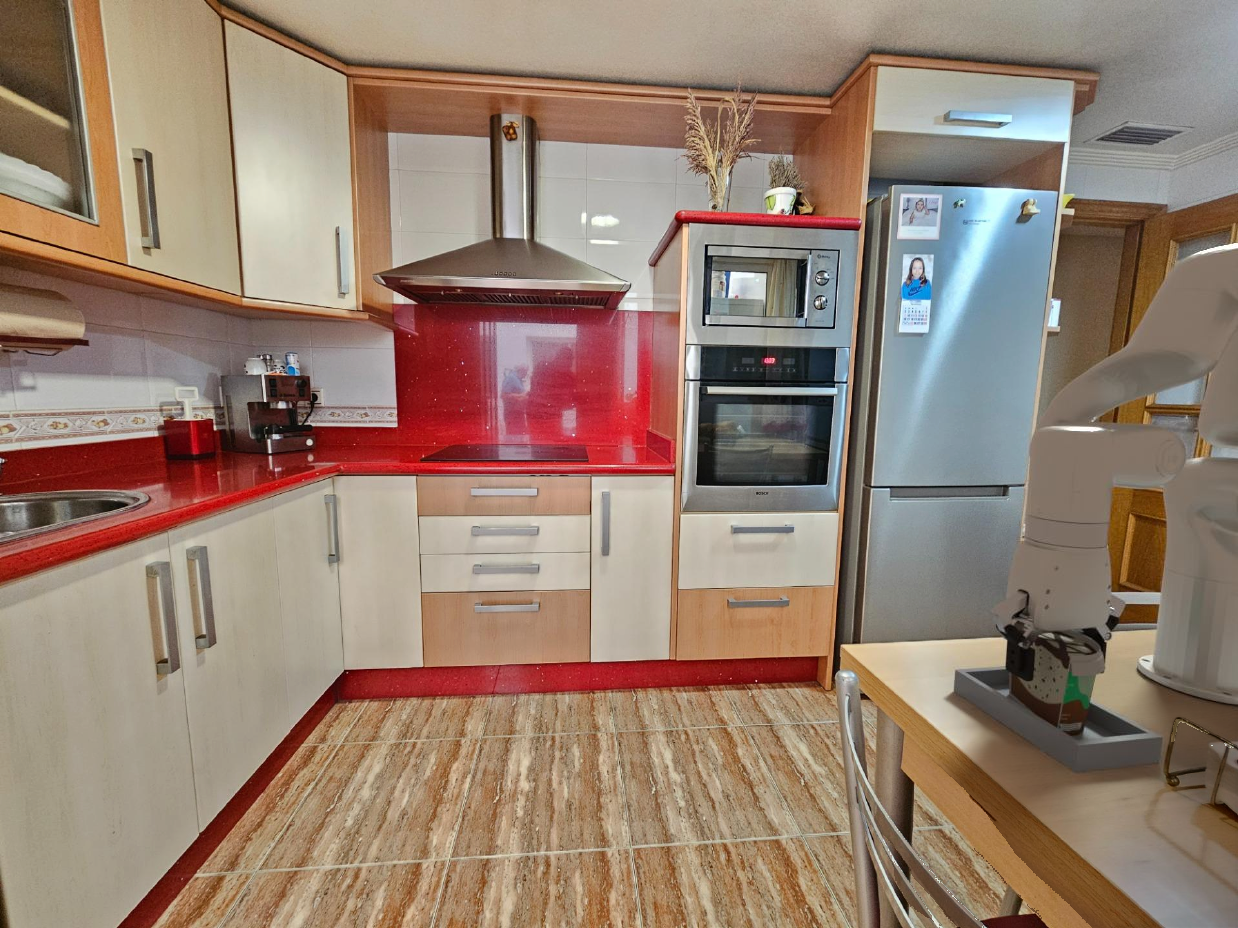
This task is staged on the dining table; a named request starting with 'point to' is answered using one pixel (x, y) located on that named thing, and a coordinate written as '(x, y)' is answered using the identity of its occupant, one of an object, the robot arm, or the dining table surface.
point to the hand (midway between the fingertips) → (1054, 671)
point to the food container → (1060, 679)
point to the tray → (1094, 749)
